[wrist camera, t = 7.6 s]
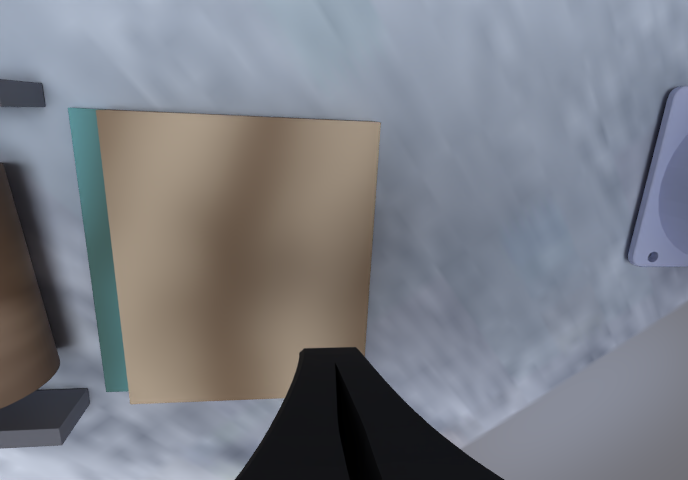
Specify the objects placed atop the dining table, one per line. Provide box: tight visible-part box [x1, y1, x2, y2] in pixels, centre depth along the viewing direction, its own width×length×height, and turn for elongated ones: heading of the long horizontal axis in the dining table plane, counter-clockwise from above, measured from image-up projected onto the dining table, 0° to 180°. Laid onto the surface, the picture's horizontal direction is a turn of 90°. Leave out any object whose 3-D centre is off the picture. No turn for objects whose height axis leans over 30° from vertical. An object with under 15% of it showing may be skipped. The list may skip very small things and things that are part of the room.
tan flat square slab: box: [68, 108, 381, 404], centre depth 18 cm, size 11×12×1 cm
